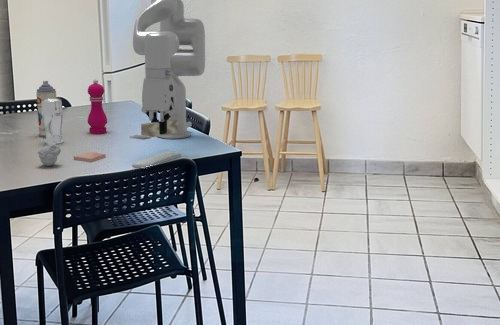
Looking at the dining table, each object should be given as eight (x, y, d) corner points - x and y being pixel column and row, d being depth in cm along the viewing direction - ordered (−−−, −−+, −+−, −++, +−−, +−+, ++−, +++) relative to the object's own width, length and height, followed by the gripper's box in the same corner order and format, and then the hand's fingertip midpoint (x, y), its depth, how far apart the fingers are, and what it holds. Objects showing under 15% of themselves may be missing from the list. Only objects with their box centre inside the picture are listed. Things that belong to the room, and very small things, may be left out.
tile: (88, 151, 213) (73, 156, 207) (105, 154, 210) (91, 158, 204) (88, 156, 214) (73, 161, 208) (105, 158, 211) (91, 163, 205)
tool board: (167, 153, 216) (167, 151, 216) (180, 155, 214) (180, 153, 213) (132, 166, 199) (132, 164, 199) (145, 168, 197) (145, 166, 197)
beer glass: (58, 139, 236) (55, 97, 232) (68, 142, 231) (65, 100, 228) (40, 142, 231) (37, 99, 228) (50, 145, 226) (47, 102, 223)
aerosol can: (38, 134, 244) (34, 80, 239) (57, 133, 247) (54, 79, 242) (40, 137, 238) (36, 82, 233) (59, 136, 241) (56, 81, 236)
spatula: (167, 131, 214) (167, 119, 213) (180, 132, 212) (180, 120, 211) (129, 138, 196) (129, 124, 196) (143, 139, 194) (143, 126, 193)
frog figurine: (61, 167, 198) (60, 144, 196) (37, 168, 196) (35, 145, 195) (62, 162, 204) (61, 140, 202) (39, 163, 202) (37, 141, 200)
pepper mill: (105, 134, 245) (102, 80, 240) (86, 134, 245) (83, 80, 240) (109, 130, 252) (107, 78, 247) (90, 130, 252) (88, 78, 247)
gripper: (186, 74, 201) (187, 133, 205) (143, 71, 208) (145, 129, 212) (172, 76, 194) (174, 137, 199) (129, 73, 201) (131, 132, 206)
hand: (159, 132), depth 205 cm, fingers closed on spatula, 2 cm apart
